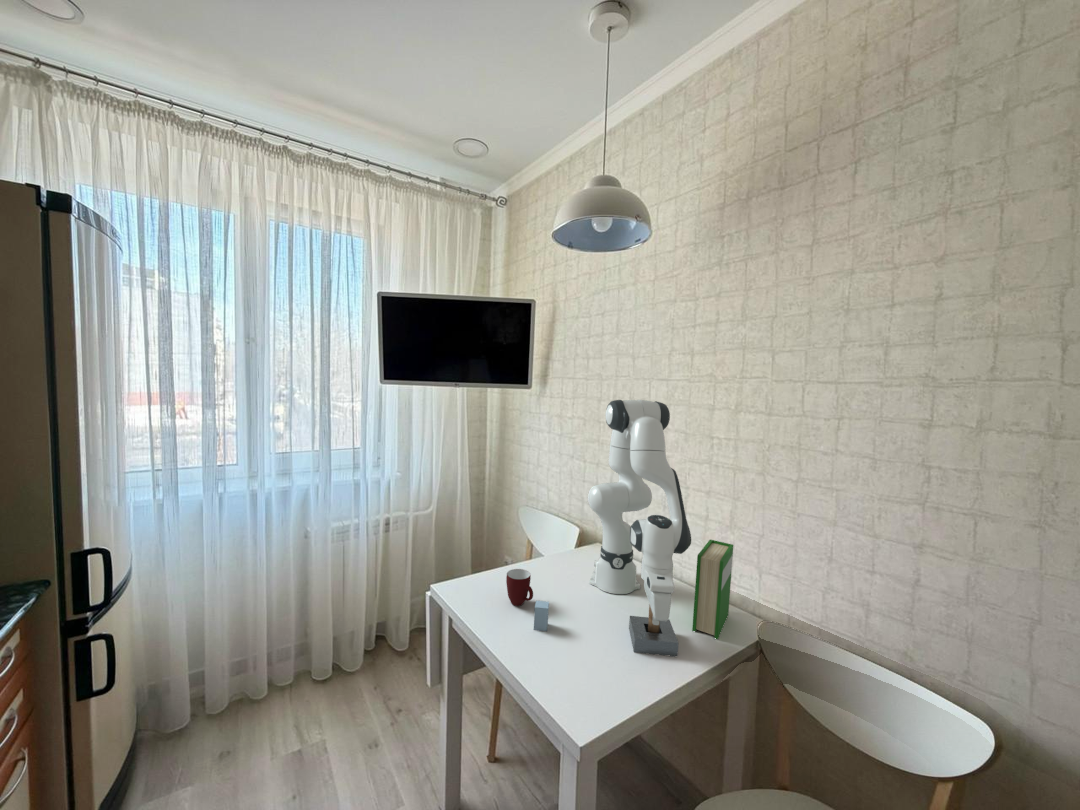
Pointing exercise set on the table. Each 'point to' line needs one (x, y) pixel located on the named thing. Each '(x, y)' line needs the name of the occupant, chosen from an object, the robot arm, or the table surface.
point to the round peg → (652, 627)
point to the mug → (518, 586)
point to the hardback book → (712, 587)
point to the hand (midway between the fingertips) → (654, 619)
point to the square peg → (541, 615)
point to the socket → (652, 637)
